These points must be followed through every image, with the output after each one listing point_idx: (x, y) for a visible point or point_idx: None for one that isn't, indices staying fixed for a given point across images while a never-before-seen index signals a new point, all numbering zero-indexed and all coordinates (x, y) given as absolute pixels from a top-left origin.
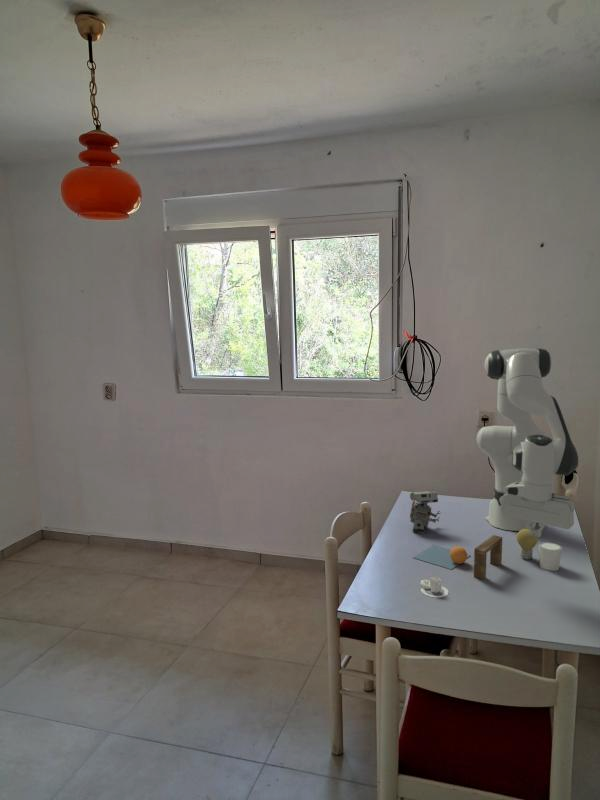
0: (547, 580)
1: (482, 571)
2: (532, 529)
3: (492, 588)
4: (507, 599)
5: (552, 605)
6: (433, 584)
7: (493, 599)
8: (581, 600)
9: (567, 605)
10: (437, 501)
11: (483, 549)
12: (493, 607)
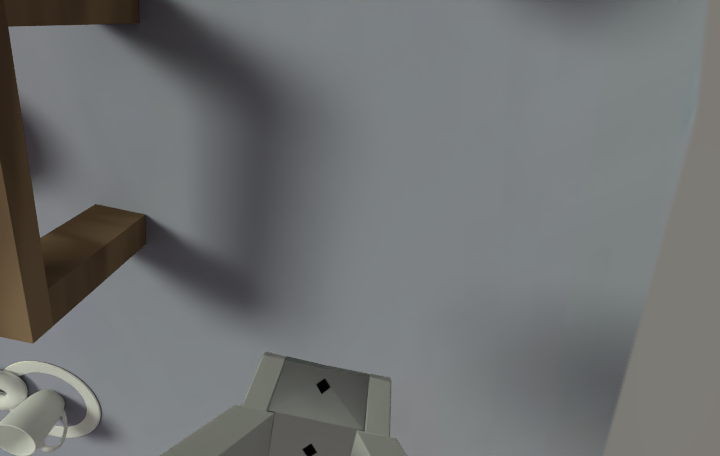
0: (438, 95)
1: (116, 263)
2: (269, 450)
3: (213, 303)
4: None
5: (467, 344)
6: (30, 443)
7: (248, 381)
8: (602, 253)
9: (530, 321)
10: None
11: (13, 318)
12: None
